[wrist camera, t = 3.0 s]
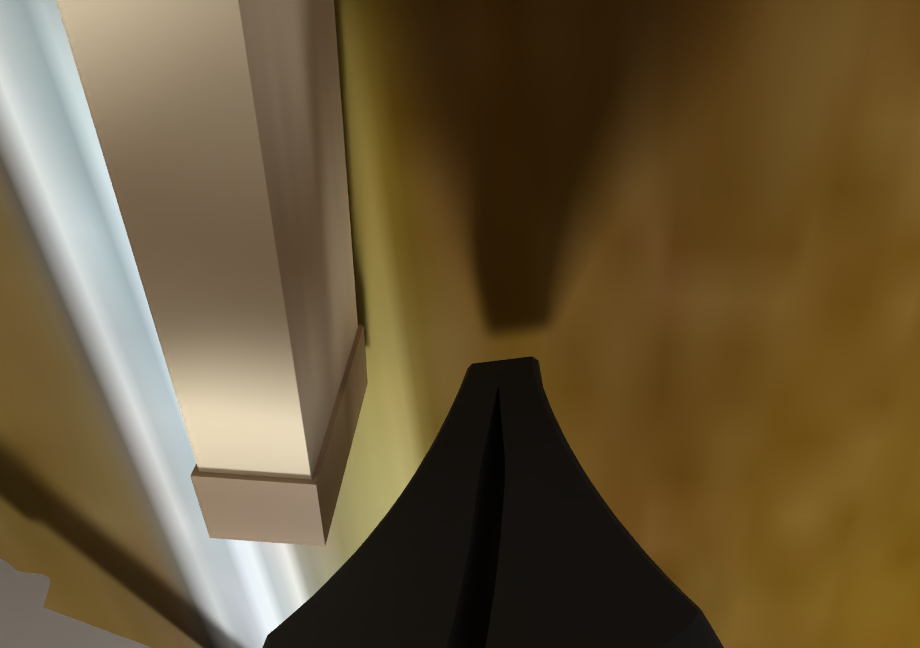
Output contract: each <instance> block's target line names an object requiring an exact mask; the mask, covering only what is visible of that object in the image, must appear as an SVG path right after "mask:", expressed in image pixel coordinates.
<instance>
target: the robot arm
mask: <svg viewBox="0 0 920 648" xmlns="http://www.w3.org/2000/svg"><path fill="white" fill-rule="evenodd" d="M263 648H724V647H723V646H722V644H721V642H720V640H719V639H718V637H717V635H716V634H715V632H714V630H713V629H712V627H711V625H710V624H709V622H708V620H707V619H706V617H705V615H704V613H703V612H702V610H701V609H700V608H699V607H698V606H697V605H696V604H695V603H694V602H693V601H692V600H691V599H689V598H688V597H687V596H686V595H685V594H684V593H683V592H682V591H681V590H680V589H679V588H678V587H677V586H676V585H675V584H674V583H673V582H672V581H671V580H670V579H669V578H668V577H667V576H666V574H665V573H664V572H663V571H662V570H661V569H660V568H659V567H658V566H657V565H656V564H655V562H654V561H653V560H652V559H651V558H650V557H649V556H648V555H647V554H646V553H645V551H644V550H643V549H642V548H641V547H640V545H639V544H638V543H637V542H636V541H635V539H634V538H633V537H632V536H631V535H630V533H629V532H628V531H627V530H626V528H625V527H624V526H623V525H622V524H621V522H620V521H619V520H618V519H617V517H616V516H615V515H614V513H613V512H612V511H611V509H610V508H609V507H608V505H607V504H606V503H605V501H604V500H603V498H602V497H601V496H600V494H599V493H598V491H597V490H596V488H595V487H594V485H593V484H592V482H591V481H590V479H589V478H588V476H587V475H586V473H585V471H584V470H583V468H582V467H581V465H580V463H579V462H578V460H577V458H576V456H575V455H574V453H573V451H572V449H571V448H570V446H569V444H568V442H567V440H566V438H565V437H564V435H563V433H562V431H561V428H560V426H559V424H558V422H557V420H556V418H555V416H554V414H553V412H552V409H551V407H550V404H549V402H548V399H547V396H546V394H545V391H544V388H543V384H542V378H541V373H540V367H539V361H538V360H537V359H535V358H534V357H524V358H515V359H507V360H499V361H491V362H483V363H474V364H471V365H470V367H469V368H468V369H467V372H466V374H465V377H464V380H463V382H462V384H461V387H460V389H459V392H458V394H457V396H456V398H455V401H454V403H453V405H452V407H451V409H450V411H449V413H448V415H447V417H446V419H445V421H444V423H443V425H442V427H441V429H440V431H439V433H438V435H437V437H436V439H435V440H434V442H433V444H432V446H431V447H430V449H429V451H428V452H427V454H426V456H425V458H424V459H423V461H422V463H421V464H420V466H419V468H418V469H417V471H416V473H415V474H414V476H413V477H412V479H411V480H410V482H409V483H408V485H407V486H406V488H405V489H404V491H403V492H402V494H401V495H400V497H399V498H398V499H397V501H396V502H395V503H394V505H393V506H392V508H391V509H390V510H389V512H388V513H387V514H386V516H385V517H384V518H383V519H382V521H381V522H380V523H379V524H378V526H377V527H376V528H375V529H374V531H373V532H372V533H371V534H370V536H369V537H368V538H367V539H366V540H365V542H364V543H363V544H362V545H361V546H360V547H359V548H358V550H357V551H356V552H355V553H354V554H353V555H352V556H351V557H350V558H349V559H348V560H347V561H346V562H345V564H344V565H343V566H342V567H341V568H340V569H339V570H338V571H337V572H336V573H335V574H334V575H333V576H332V577H331V578H330V579H329V580H328V581H327V582H326V583H325V584H324V585H323V586H322V587H321V588H320V589H319V590H318V591H317V592H316V593H315V594H314V595H313V596H312V597H311V598H310V599H309V600H308V601H307V602H305V603H304V604H303V605H302V606H301V607H300V608H299V609H297V610H296V611H295V612H294V613H293V614H292V615H291V616H289V617H288V618H287V619H286V620H285V621H284V622H283V623H282V624H280V625H279V626H278V627H277V628H276V629H274V630H273V631H272V632H271V633H270V634H268V635H267V638H266V640H265V643H264V645H263Z"/></svg>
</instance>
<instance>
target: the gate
mask: <svg viewBox="0 0 920 648" xmlns="http://www.w3.org/2000/svg"><path fill="white" fill-rule="evenodd" d="M57 4H58V7H59V10H60V14H61V17H62V20H63V24H64V27H65V30H66V33H67V37H68V40H69V43H70V47H71V50H72V53H73V57H74V60H75V63H76V66H77V70H78V73H79V76H80V80H81V83H82V86H83V90H84V93H85V96H86V100H87V103H88V106H89V109H90V113H91V116H92V119H93V123H94V126H95V129H96V133H97V136H98V139H99V143H100V146H101V149H102V152H103V156H104V159H105V162H106V166H107V169H108V172H109V176H110V179H111V182H112V186H113V189H114V192H115V195H116V199H117V202H118V205H119V209H120V212H121V215H122V219H123V222H124V225H125V228H126V232H127V235H128V238H129V242H130V245H131V248H132V252H133V255H134V258H135V262H136V265H137V268H138V271H139V275H140V278H141V281H142V285H143V288H144V291H145V295H146V298H147V301H148V305H149V308H150V311H151V314H152V318H153V321H154V324H155V328H156V331H157V334H158V338H159V341H160V344H161V347H162V351H163V354H164V357H165V361H166V364H167V367H168V371H169V374H170V377H171V381H172V384H173V387H174V390H175V394H176V397H177V400H178V404H179V407H180V410H181V414H182V417H183V420H184V424H185V427H186V430H187V433H188V437H189V440H190V443H191V447H192V450H193V453H194V457H195V460H196V463H197V464H196V466H195V468H194V470H193V472H192V474H191V480H192V483H193V486H194V489H195V492H196V495H197V499H198V502H199V505H200V508H201V511H202V514H203V518H204V521H205V524H206V527H207V530H208V533H209V537H210V538H220V539H233V540H247V541H261V542H274V543H288V544H302V545H315V546H325V545H326V541H327V537H328V533H329V530H330V526H331V522H332V518H333V514H334V510H335V506H336V502H337V499H338V495H339V491H340V487H341V483H342V479H343V475H344V472H345V468H346V464H347V460H348V456H349V452H350V448H351V445H352V441H353V437H354V433H355V429H356V425H357V421H358V418H359V414H360V410H361V406H362V402H363V398H364V394H365V391H366V387H367V368H366V353H365V338H364V325H358V321H357V308H356V294H355V281H354V267H353V254H352V240H351V227H350V213H349V200H348V186H347V173H346V159H345V146H344V132H343V119H342V105H341V91H340V78H339V64H338V51H337V37H336V24H335V10H334V0H57Z"/></svg>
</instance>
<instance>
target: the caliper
mask: <svg viewBox="0 0 920 648" xmlns="http://www.w3.org/2000/svg"><path fill="white" fill-rule="evenodd" d="M49 586H50V579H49V578H48V577H47V576H45V575H42V574H35V573H24V572H21V571H18V570H15V569H14V568H13V567H12V566H11V565H10V564H9V563H7V562H6V561H4V560H2V559H0V648H151V647H149V646H146V645H143V644H140V643H138V642H135V641H132V640H130V639H127V638H124V637H122V636H119V635H116V634H113V633H111V632H108V631H105V630H103V629H100V628H97V627H95V626H92V625H89V624H86V623H84V622H81V621H78V620H76V619H73V618H70V617H68V616H65V615H62V614H60V613H57V612H54V611H51V610H49V609H46V608H43V604H44V601H45V598H46V595H47V592H48V589H49Z"/></svg>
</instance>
